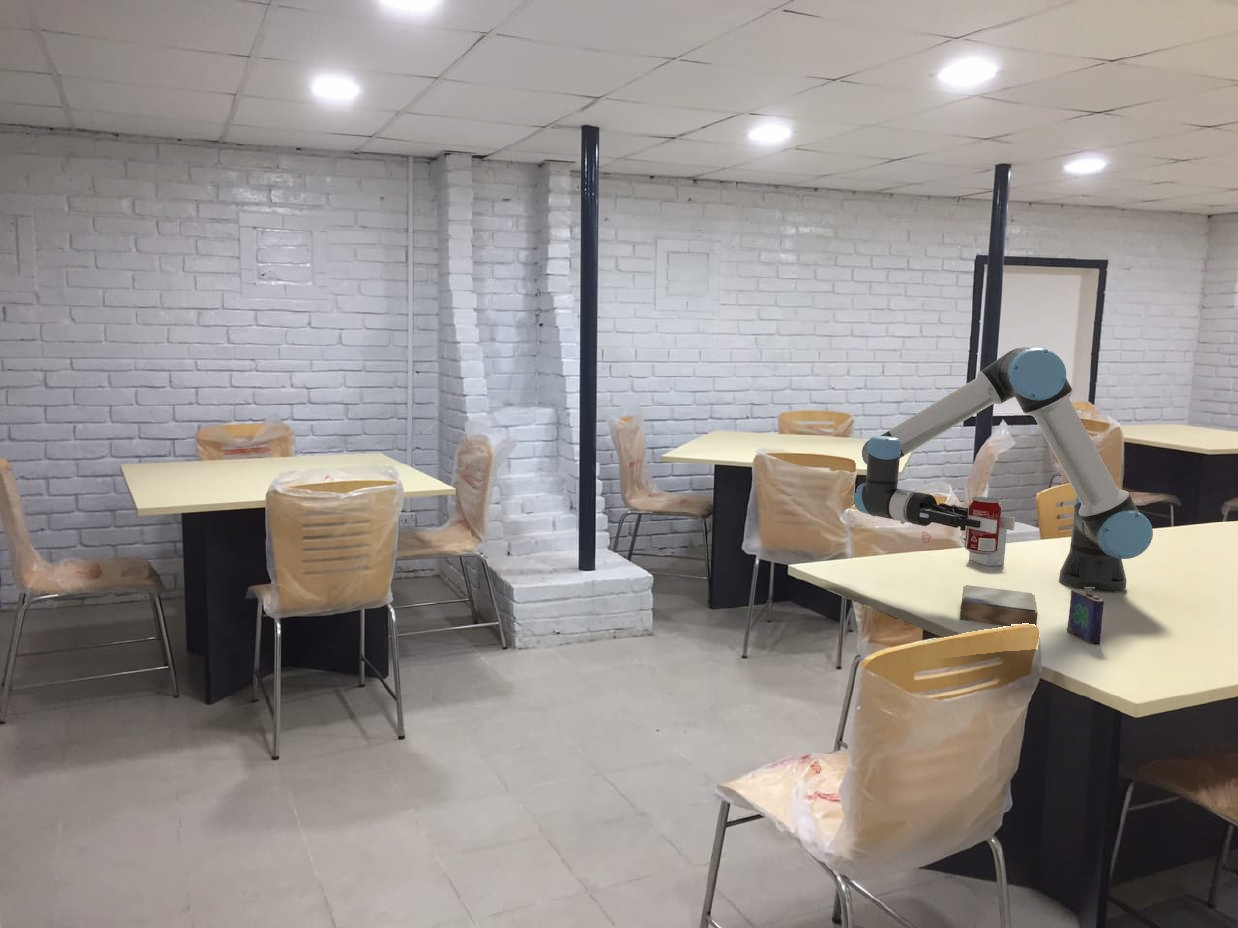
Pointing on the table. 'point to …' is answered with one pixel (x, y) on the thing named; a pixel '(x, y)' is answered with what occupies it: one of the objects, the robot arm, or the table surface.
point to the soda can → (980, 539)
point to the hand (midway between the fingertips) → (1004, 525)
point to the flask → (1086, 615)
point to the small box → (996, 557)
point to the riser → (998, 606)
